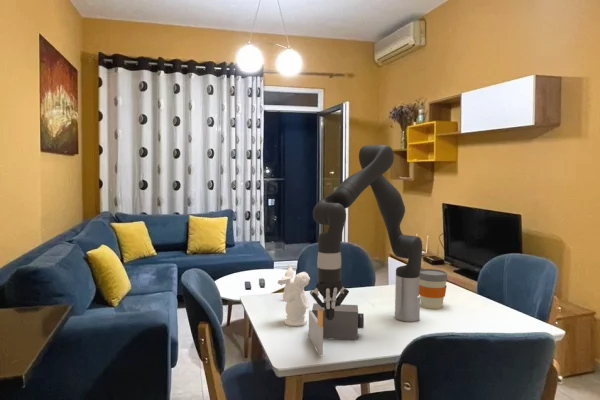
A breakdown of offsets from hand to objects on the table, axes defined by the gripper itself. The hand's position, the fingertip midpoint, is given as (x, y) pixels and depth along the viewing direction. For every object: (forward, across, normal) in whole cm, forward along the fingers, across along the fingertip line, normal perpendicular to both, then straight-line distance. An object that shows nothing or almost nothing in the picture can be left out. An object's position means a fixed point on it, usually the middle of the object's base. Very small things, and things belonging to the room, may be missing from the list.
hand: (329, 319), depth 145 cm
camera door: (+10, -3, +6) cm, 13 cm away
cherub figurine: (+12, -4, +31) cm, 34 cm away
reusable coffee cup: (+13, +61, +37) cm, 72 cm away
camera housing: (+12, +8, +16) cm, 21 cm away
